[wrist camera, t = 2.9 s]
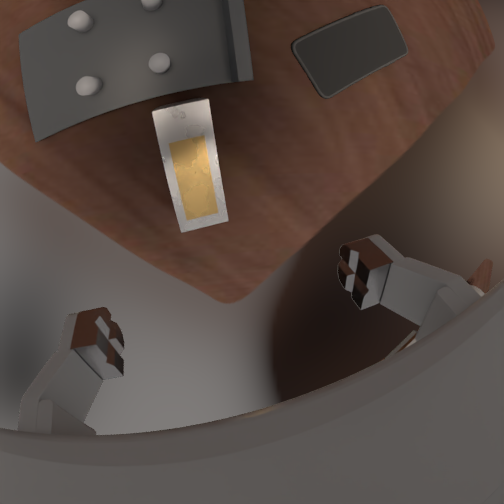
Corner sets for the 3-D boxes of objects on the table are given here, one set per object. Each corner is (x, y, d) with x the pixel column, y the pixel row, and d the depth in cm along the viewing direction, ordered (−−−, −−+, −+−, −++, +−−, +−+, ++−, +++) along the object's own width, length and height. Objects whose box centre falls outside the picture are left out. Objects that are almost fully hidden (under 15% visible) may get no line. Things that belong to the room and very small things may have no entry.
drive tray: (24, 35, 11) (6, 31, 8) (228, -26, 14) (237, -41, 11) (40, 140, 18) (24, 149, 15) (242, 81, 21) (253, 79, 18)
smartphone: (287, 43, 20) (386, 2, 17) (283, 44, 20) (381, 3, 18) (324, 103, 24) (411, 54, 21) (320, 102, 25) (406, 53, 22)
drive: (156, 107, 21) (151, 111, 16) (200, 97, 21) (208, 99, 16) (178, 203, 27) (181, 233, 22) (216, 194, 27) (228, 221, 22)
